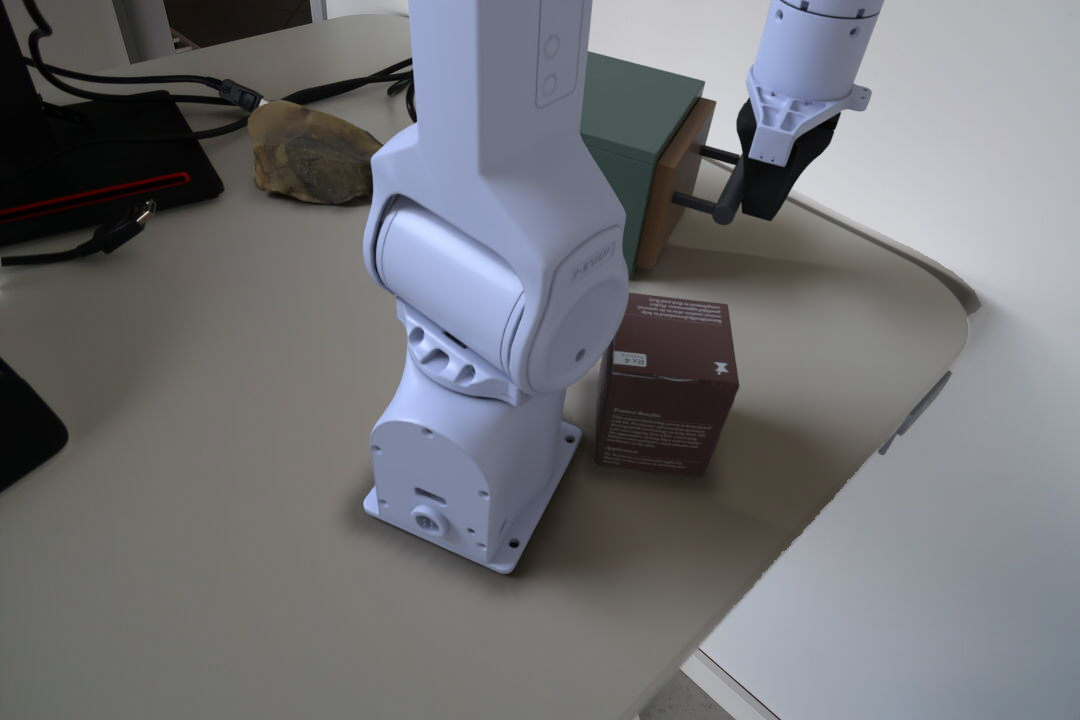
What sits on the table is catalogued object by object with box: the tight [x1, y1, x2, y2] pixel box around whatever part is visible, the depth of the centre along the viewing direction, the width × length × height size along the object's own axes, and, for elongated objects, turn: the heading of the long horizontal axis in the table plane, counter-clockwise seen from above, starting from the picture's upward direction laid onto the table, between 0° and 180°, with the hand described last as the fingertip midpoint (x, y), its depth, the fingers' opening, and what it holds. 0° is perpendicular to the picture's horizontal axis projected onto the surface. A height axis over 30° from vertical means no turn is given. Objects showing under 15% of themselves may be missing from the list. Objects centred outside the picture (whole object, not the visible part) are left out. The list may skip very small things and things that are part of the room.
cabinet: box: [580, 50, 706, 281], centre depth 52 cm, size 14×12×10 cm
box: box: [593, 292, 741, 478], centre depth 38 cm, size 6×6×7 cm
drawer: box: [635, 96, 745, 271], centre depth 51 cm, size 17×10×8 cm, turn 66°
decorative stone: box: [246, 98, 385, 205], centre depth 55 cm, size 10×9×4 cm
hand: (758, 212), depth 49 cm, fingers closed, pressing on drawer
